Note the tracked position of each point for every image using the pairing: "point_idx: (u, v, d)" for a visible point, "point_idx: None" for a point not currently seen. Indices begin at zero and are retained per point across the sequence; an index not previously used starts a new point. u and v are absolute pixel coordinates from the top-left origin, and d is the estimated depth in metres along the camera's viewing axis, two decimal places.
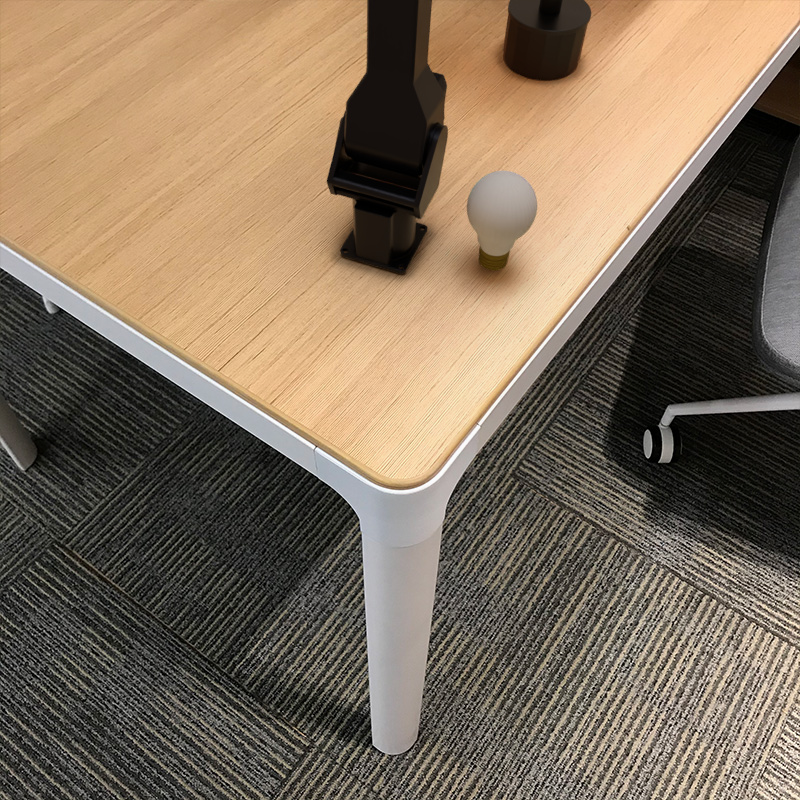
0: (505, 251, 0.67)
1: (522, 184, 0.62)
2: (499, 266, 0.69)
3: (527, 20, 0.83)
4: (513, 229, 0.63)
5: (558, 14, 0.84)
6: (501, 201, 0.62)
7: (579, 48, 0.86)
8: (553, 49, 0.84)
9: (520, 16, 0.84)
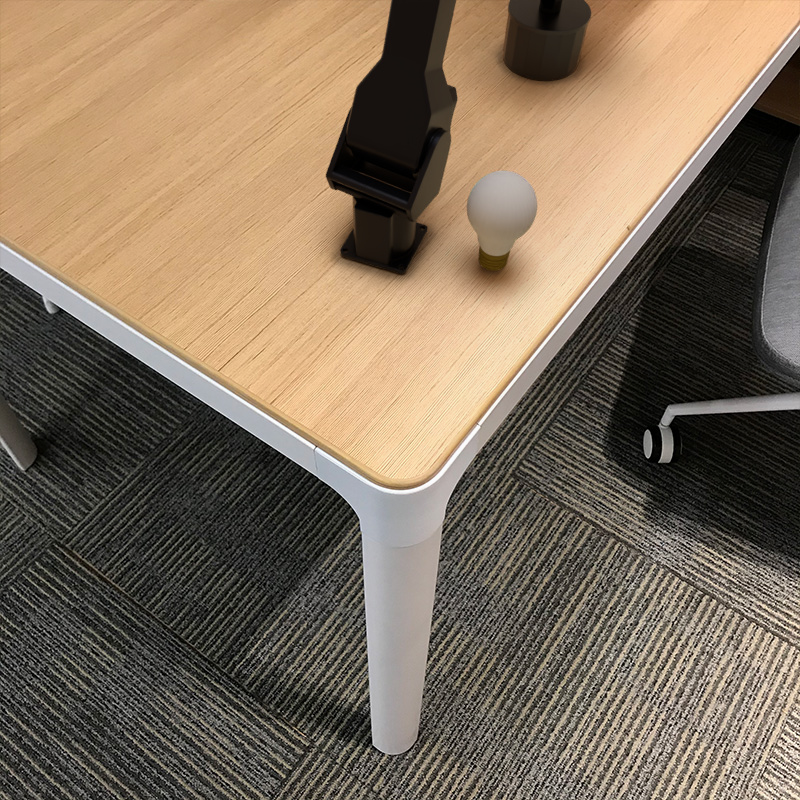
0: (505, 251, 0.67)
1: (522, 184, 0.62)
2: (499, 266, 0.69)
3: (527, 20, 0.83)
4: (513, 229, 0.63)
5: (558, 14, 0.84)
6: (501, 201, 0.62)
7: (579, 48, 0.86)
8: (553, 49, 0.84)
9: (520, 16, 0.84)
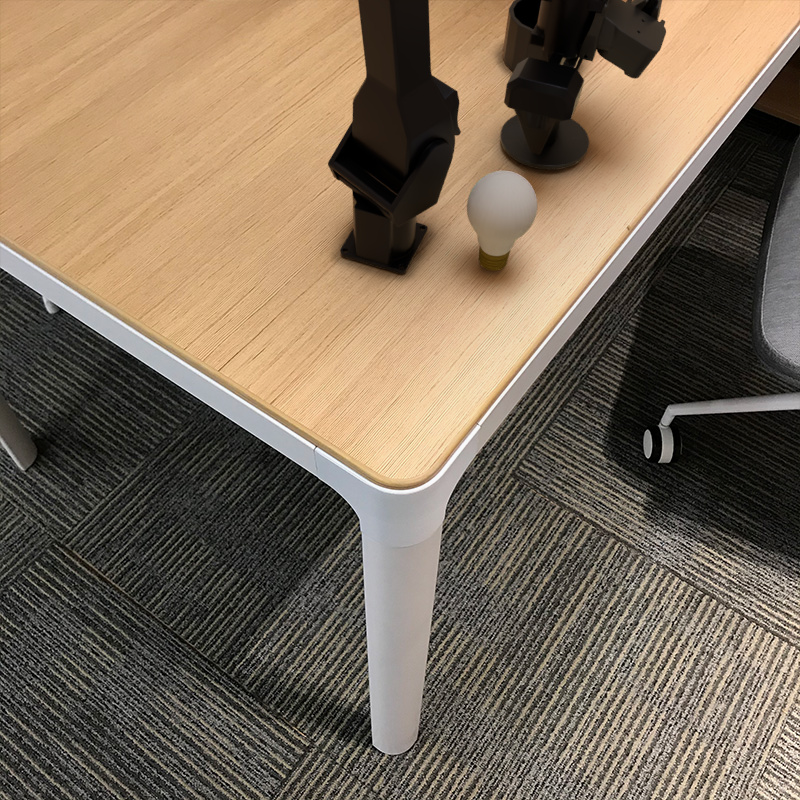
0: (505, 251, 0.67)
1: (522, 184, 0.62)
2: (499, 266, 0.69)
3: (521, 152, 0.78)
4: (513, 229, 0.63)
5: (554, 144, 0.79)
6: (501, 201, 0.62)
7: None
8: None
9: (513, 147, 0.79)
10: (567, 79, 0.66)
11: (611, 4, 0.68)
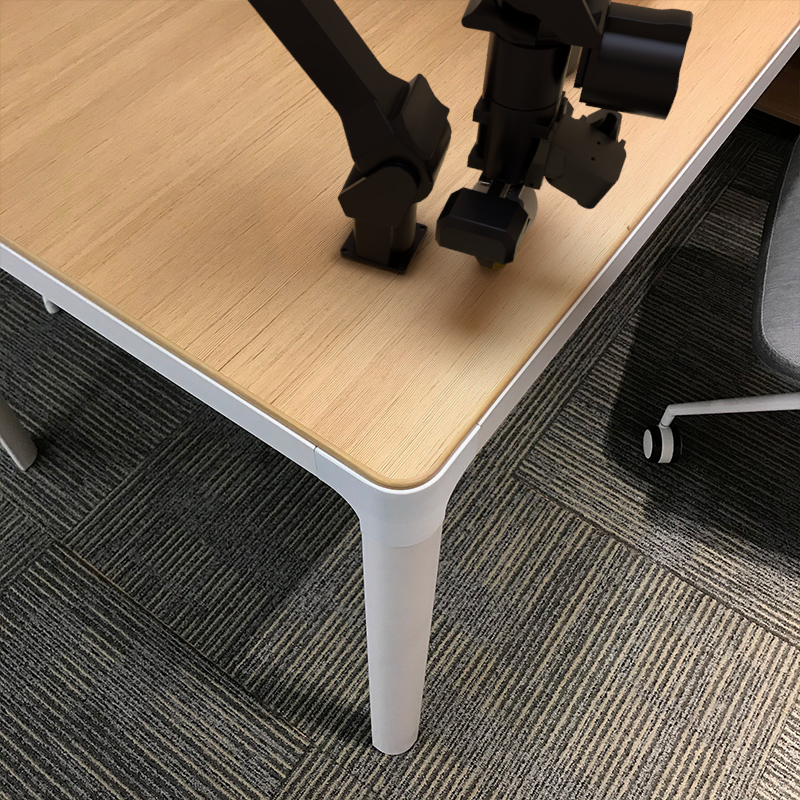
0: None
1: None
2: (499, 266, 0.69)
3: None
4: None
5: None
6: None
7: (579, 48, 0.86)
8: None
9: None
10: (507, 217, 0.56)
11: (560, 125, 0.57)
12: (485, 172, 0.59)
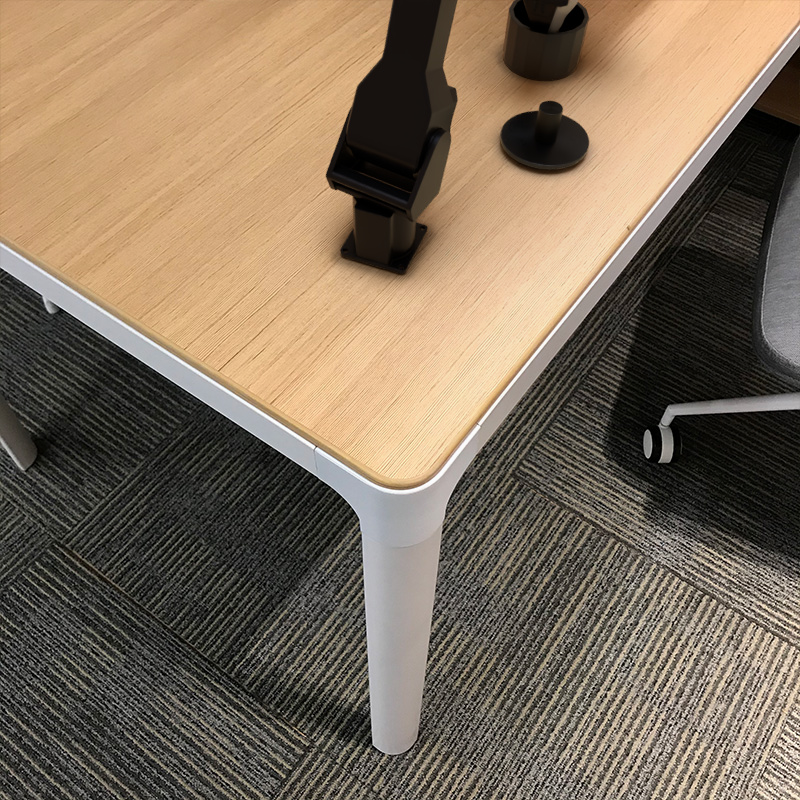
0: (555, 28, 0.85)
1: None
2: None
3: (521, 152, 0.78)
4: None
5: (554, 144, 0.79)
6: None
7: (579, 48, 0.86)
8: (553, 49, 0.84)
9: (513, 147, 0.79)
10: None
11: None
12: None
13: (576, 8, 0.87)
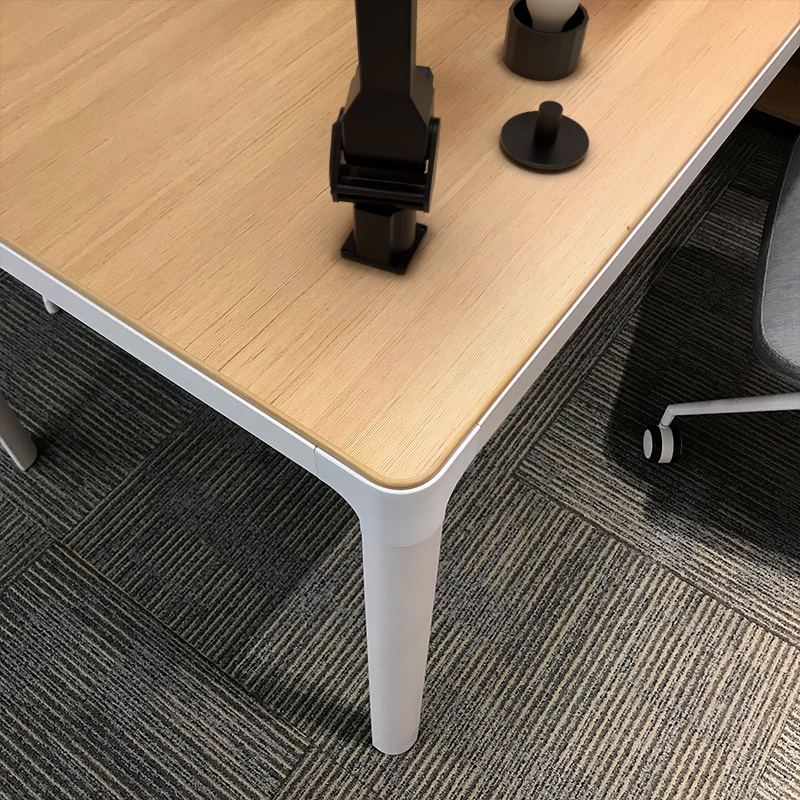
0: None
1: None
2: None
3: (521, 152, 0.78)
4: (563, 8, 0.82)
5: (554, 144, 0.79)
6: None
7: (579, 48, 0.86)
8: (553, 49, 0.84)
9: (513, 147, 0.79)
10: None
11: None
12: None
13: None
